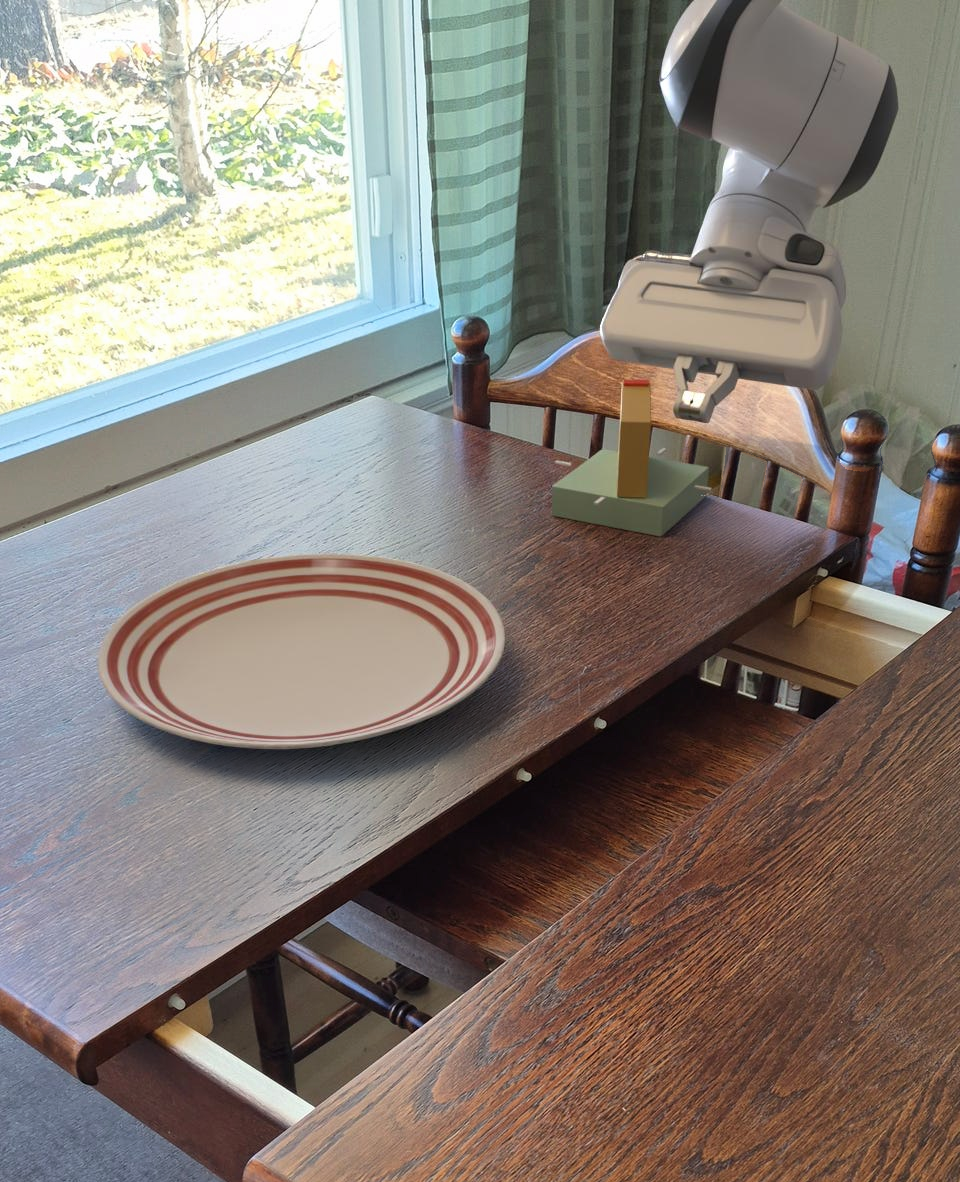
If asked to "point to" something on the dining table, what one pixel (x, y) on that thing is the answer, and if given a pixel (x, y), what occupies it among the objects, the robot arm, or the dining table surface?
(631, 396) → the tan box
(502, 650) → the dinner plate
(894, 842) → the dining table surface
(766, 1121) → the dining table surface
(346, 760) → the dining table surface
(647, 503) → the green base slab
